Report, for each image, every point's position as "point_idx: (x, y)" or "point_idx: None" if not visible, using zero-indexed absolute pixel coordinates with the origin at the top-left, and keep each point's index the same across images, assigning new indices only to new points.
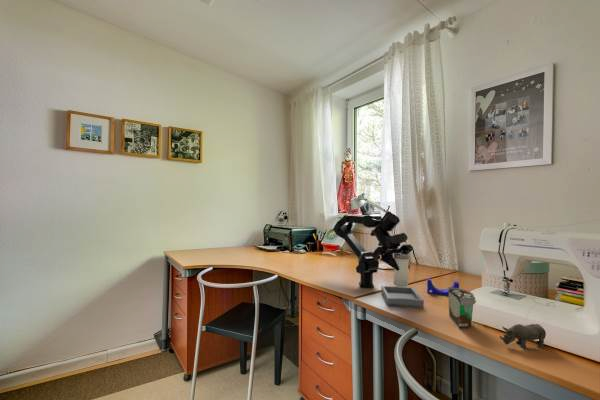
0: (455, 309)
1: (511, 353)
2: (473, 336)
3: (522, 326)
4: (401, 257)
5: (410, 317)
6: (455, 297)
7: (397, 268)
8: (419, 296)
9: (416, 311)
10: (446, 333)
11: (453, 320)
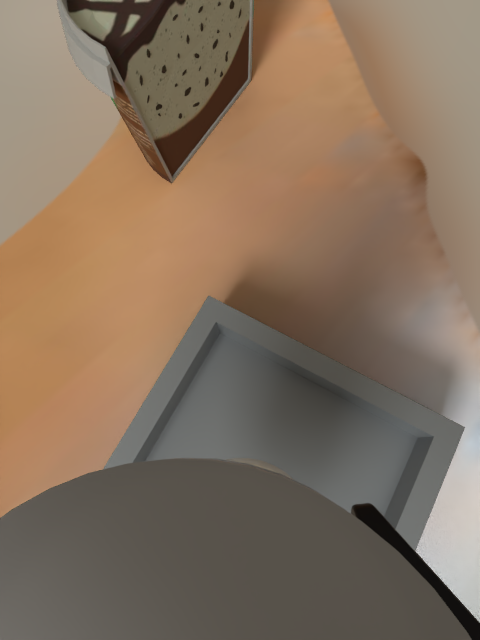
0: (212, 52)
1: None
2: (257, 21)
3: None
4: (372, 533)
5: (397, 234)
6: None
7: (386, 530)
8: (168, 374)
9: (297, 291)
10: (347, 63)
11: (205, 132)
